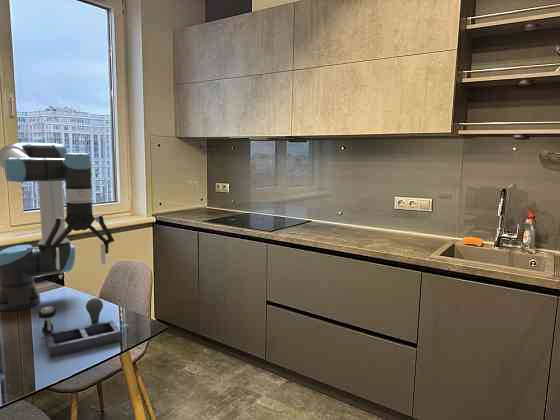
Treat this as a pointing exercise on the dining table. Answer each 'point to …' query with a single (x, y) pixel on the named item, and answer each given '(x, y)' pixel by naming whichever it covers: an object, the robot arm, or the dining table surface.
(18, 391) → the dining table surface
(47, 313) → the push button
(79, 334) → the rectangular frame
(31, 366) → the dining table surface
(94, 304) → the light bulb
